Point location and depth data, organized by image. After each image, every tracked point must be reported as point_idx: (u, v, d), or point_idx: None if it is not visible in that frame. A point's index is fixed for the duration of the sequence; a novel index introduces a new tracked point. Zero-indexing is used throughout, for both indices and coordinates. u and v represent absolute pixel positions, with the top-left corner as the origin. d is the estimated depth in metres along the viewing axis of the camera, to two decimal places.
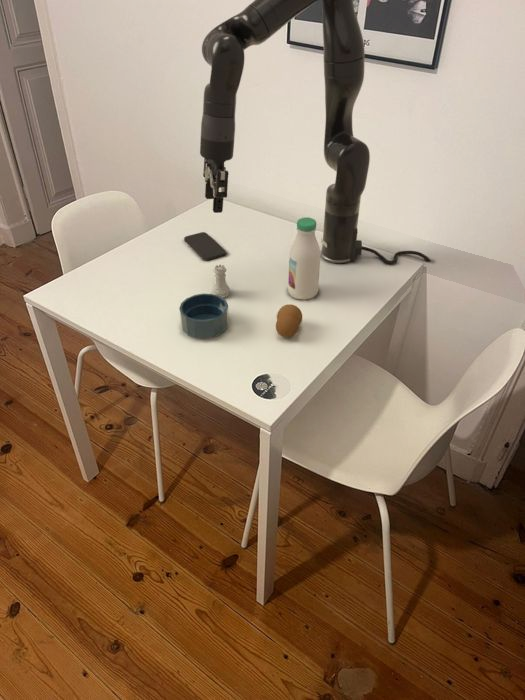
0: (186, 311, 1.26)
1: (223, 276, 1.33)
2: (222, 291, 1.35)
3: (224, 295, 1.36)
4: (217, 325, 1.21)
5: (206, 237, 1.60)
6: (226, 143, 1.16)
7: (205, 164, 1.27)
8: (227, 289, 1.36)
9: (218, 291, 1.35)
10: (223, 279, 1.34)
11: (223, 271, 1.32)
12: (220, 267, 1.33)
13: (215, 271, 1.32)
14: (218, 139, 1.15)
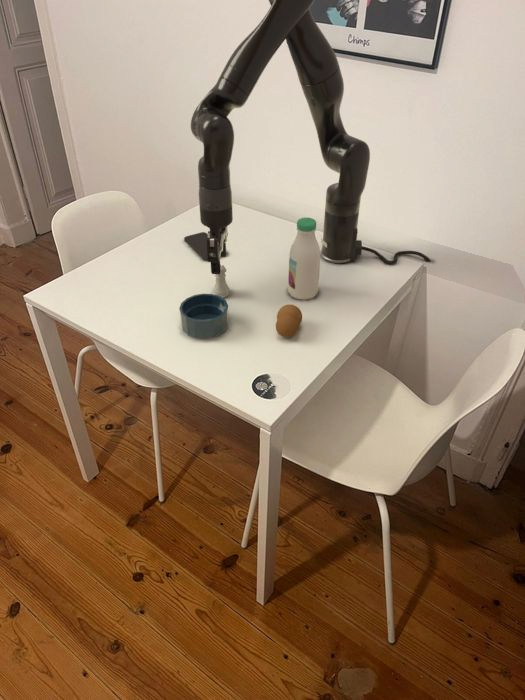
0: (186, 311, 1.26)
1: (223, 276, 1.33)
2: (222, 291, 1.35)
3: (224, 295, 1.36)
4: (217, 325, 1.21)
5: (206, 237, 1.60)
6: (218, 212, 1.19)
7: None
8: (227, 289, 1.36)
9: (218, 291, 1.35)
10: (223, 279, 1.34)
11: (223, 271, 1.32)
12: (220, 267, 1.33)
13: None
14: (209, 208, 1.19)
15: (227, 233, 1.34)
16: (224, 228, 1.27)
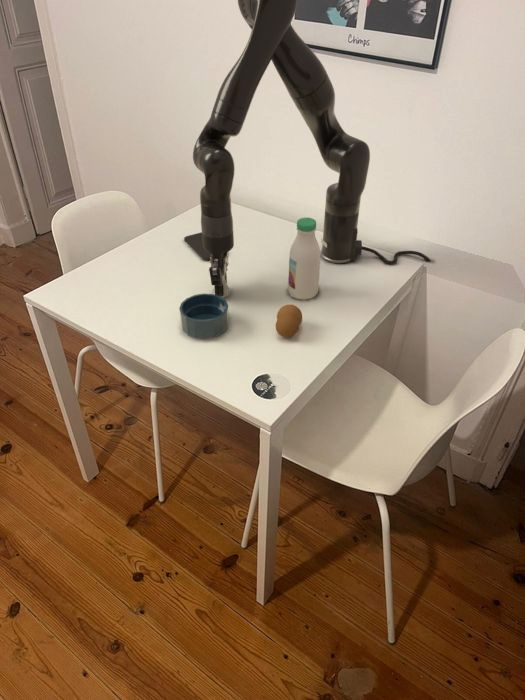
0: (186, 311, 1.26)
1: (223, 276, 1.33)
2: None
3: (225, 295, 1.36)
4: (217, 325, 1.21)
5: None
6: (219, 239, 1.24)
7: None
8: (227, 289, 1.36)
9: None
10: (223, 279, 1.34)
11: None
12: None
13: None
14: (211, 235, 1.23)
15: None
16: (226, 252, 1.31)
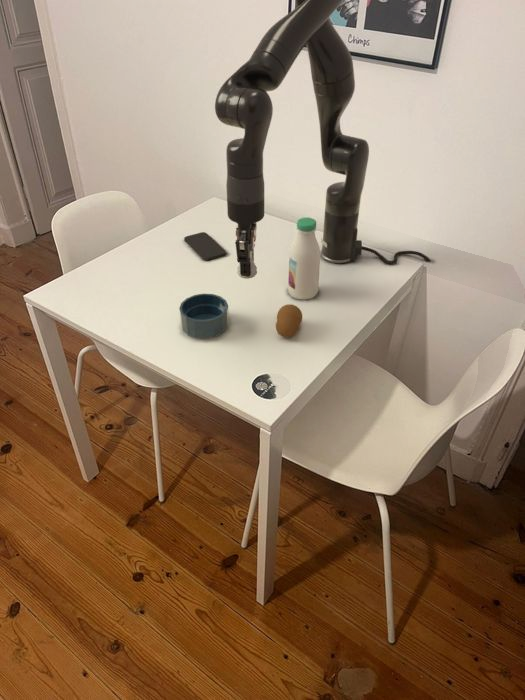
0: (186, 311, 1.26)
1: None
2: None
3: (251, 275, 1.16)
4: (217, 325, 1.21)
5: (206, 237, 1.60)
6: (249, 206, 1.04)
7: None
8: (254, 268, 1.16)
9: None
10: None
11: None
12: None
13: None
14: (239, 201, 1.03)
15: None
16: (254, 223, 1.11)
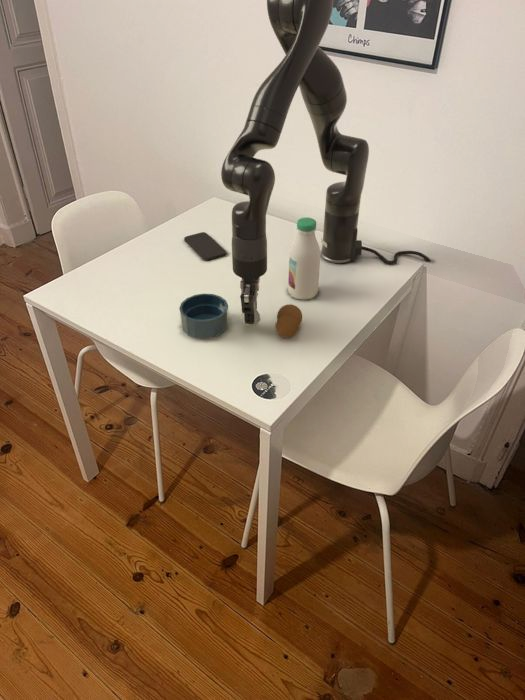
0: (186, 311, 1.26)
1: None
2: None
3: (255, 323, 1.23)
4: (217, 325, 1.21)
5: (206, 237, 1.60)
6: (253, 263, 1.11)
7: None
8: (257, 316, 1.23)
9: None
10: None
11: None
12: None
13: None
14: (243, 259, 1.10)
15: None
16: None
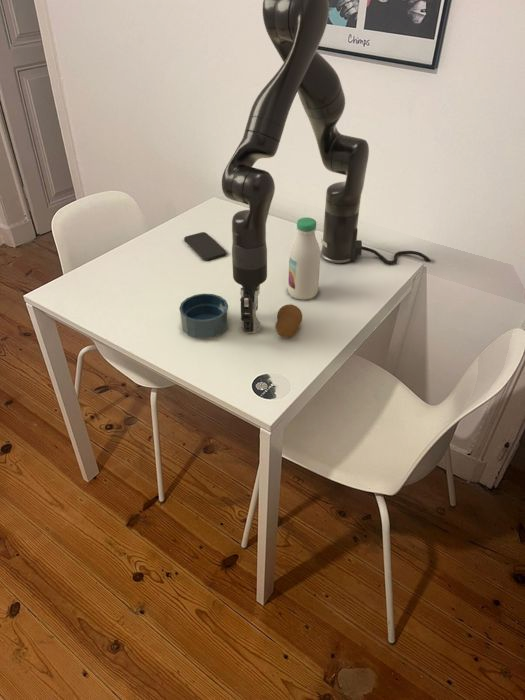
0: (186, 311, 1.26)
1: (254, 310, 1.22)
2: None
3: (255, 330, 1.24)
4: (217, 325, 1.21)
5: (206, 237, 1.60)
6: (253, 271, 1.12)
7: None
8: (258, 324, 1.24)
9: None
10: (254, 313, 1.22)
11: None
12: None
13: None
14: (244, 267, 1.11)
15: None
16: None
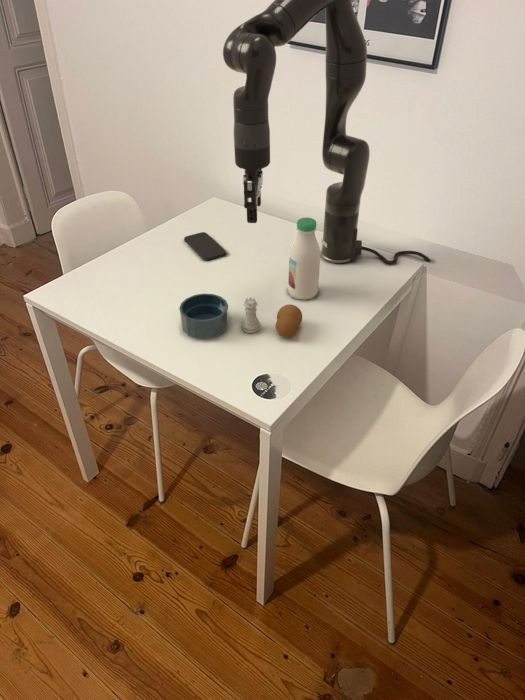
0: (186, 311, 1.26)
1: (254, 310, 1.22)
2: (252, 326, 1.24)
3: (255, 330, 1.24)
4: (217, 325, 1.21)
5: (206, 237, 1.60)
6: (256, 151, 1.09)
7: None
8: (258, 324, 1.24)
9: (248, 326, 1.24)
10: (254, 313, 1.22)
11: (254, 305, 1.21)
12: (251, 300, 1.22)
13: (245, 305, 1.21)
14: (246, 147, 1.08)
15: None
16: (260, 171, 1.16)
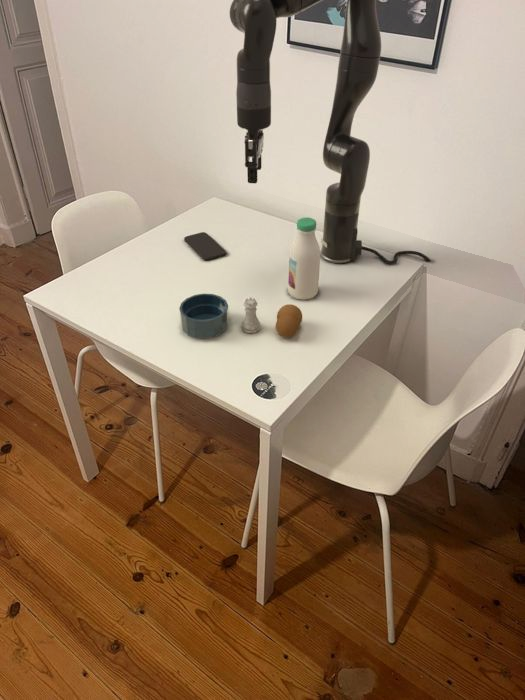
0: (186, 311, 1.26)
1: (254, 310, 1.22)
2: (252, 326, 1.24)
3: (255, 330, 1.24)
4: (217, 325, 1.21)
5: (206, 237, 1.60)
6: (257, 111, 1.13)
7: None
8: (258, 324, 1.24)
9: (248, 326, 1.24)
10: (254, 313, 1.22)
11: (254, 305, 1.21)
12: (251, 300, 1.22)
13: (245, 305, 1.21)
14: (248, 107, 1.13)
15: None
16: (261, 133, 1.21)
